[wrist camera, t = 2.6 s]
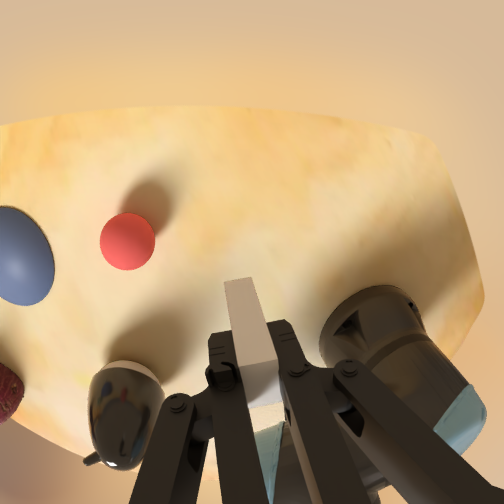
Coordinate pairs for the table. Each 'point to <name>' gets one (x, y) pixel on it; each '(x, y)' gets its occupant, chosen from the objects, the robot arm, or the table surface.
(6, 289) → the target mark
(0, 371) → the vegetable
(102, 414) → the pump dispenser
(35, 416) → the table surface
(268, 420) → the table surface
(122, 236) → the ball
